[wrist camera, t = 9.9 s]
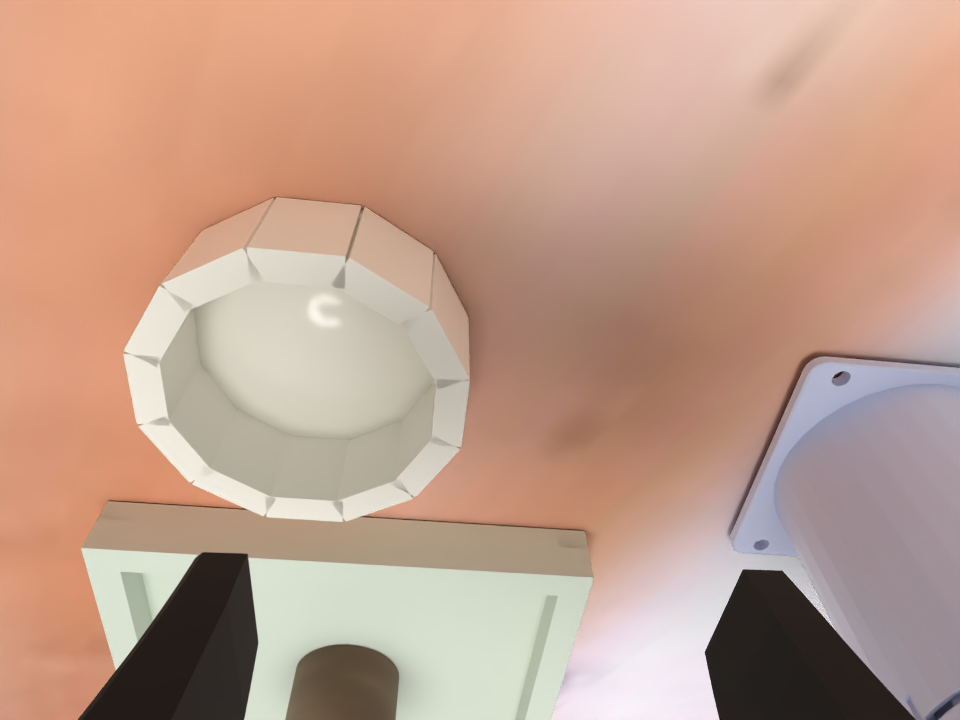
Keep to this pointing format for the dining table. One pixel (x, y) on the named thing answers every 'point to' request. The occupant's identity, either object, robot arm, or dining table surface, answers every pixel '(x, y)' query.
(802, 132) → the dining table surface
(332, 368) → the bowl
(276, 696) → the tray
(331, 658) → the pin
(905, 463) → the robot arm
